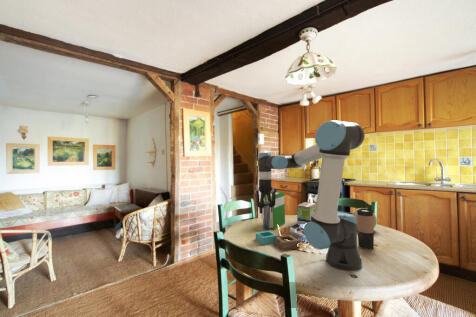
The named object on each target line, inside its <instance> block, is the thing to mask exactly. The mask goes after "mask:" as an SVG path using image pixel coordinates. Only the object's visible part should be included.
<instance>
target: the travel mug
mask: <svg viewBox="0 0 476 317" xmlns="http://www.w3.org/2000/svg"><path fill="white" fill-rule="evenodd" d="M358 209H359V208H358ZM373 213H374V210H372V209H369V208H367V209H366V208H364V209H359V210H357V224H358V228H357V245H358V247H359V248H361V249H364V250H373V249H374V248H375V246H374V245H375V244H374V243H375V242H374V241H375V238H374V237H375V234H374V233H375V232H374V231H375V230H374V228H375V227H374V225H373Z"/></svg>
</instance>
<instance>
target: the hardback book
mask: <svg viewBox="0 0 476 317" xmlns="http://www.w3.org/2000/svg"><path fill="white" fill-rule="evenodd" d="M270 194H271V200H272V191H271V192H270ZM264 200H268V198H267V195H265V197H264ZM285 204H286V203H285V191H280V190H279V191H278V190H276V193H275V206H273V207H272V212H271V219H270V229H273V230H274V231H275V230H277V229H278V228H277V224H278V225H279V228H281V227H282V226H283V225H285V224H286V209H285V208H286V205H285ZM273 230H272V231H273Z"/></svg>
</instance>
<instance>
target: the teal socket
mask: <svg viewBox="0 0 476 317" xmlns="http://www.w3.org/2000/svg"><path fill="white" fill-rule="evenodd" d="M277 236H279V235H278V234H277V233H275V232H273V230H263V231H258V232H255V241H257V242H258V243H260V245H262V246H266V245H272V244H274V245H275V237H277Z"/></svg>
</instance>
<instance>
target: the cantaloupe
mask: <svg viewBox="0 0 476 317" xmlns="http://www.w3.org/2000/svg"><path fill="white" fill-rule="evenodd" d="M359 209H368V207H365V208H364V207H359V208H356V209H355V210H354V211H353V212H352V213H351V215H354V216H355V217H356V223H357V210H359ZM373 225H374V228H375V227H376V226H377V216H376V213H374V212H373ZM357 229H358V224H357Z"/></svg>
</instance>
